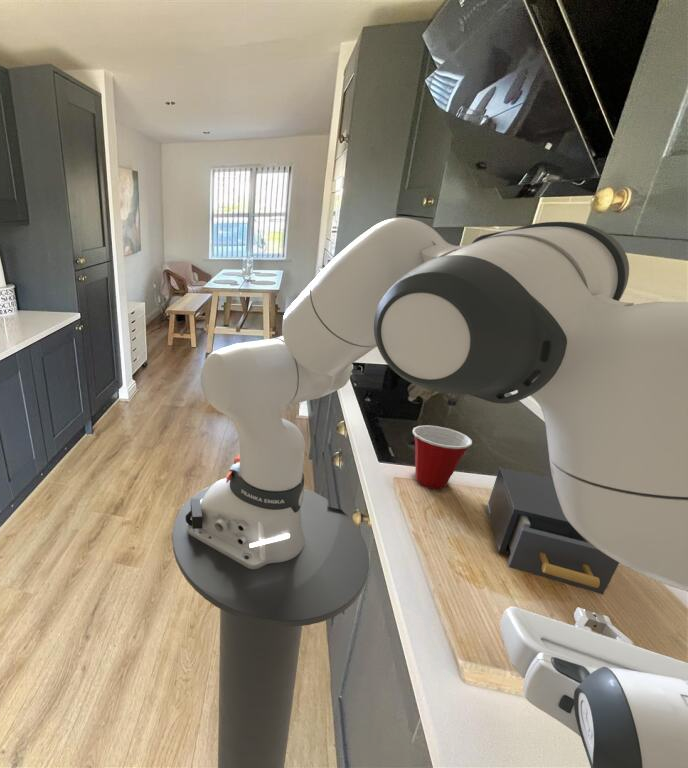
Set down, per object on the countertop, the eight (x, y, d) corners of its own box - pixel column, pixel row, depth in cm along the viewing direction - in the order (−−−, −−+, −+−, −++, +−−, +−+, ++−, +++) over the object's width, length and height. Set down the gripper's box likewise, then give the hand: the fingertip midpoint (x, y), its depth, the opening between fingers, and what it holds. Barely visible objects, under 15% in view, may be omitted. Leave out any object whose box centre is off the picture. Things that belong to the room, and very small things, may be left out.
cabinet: (595, 580, 64) (619, 533, 60) (498, 553, 69) (514, 508, 66) (569, 527, 75) (587, 484, 71) (486, 507, 80) (499, 467, 77)
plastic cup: (454, 472, 91) (466, 426, 87) (463, 500, 82) (478, 451, 78) (401, 463, 96) (410, 419, 91) (404, 488, 87) (415, 441, 82)
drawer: (613, 616, 57) (635, 576, 54) (513, 585, 62) (528, 547, 59) (575, 540, 70) (591, 505, 67) (496, 520, 76) (507, 486, 73)
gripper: (817, 765, 35) (720, 633, 46) (523, 656, 44) (501, 568, 56) (779, 803, 37) (695, 669, 49) (507, 692, 47) (489, 601, 58)
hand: (590, 614), depth 52 cm, fingers closed
